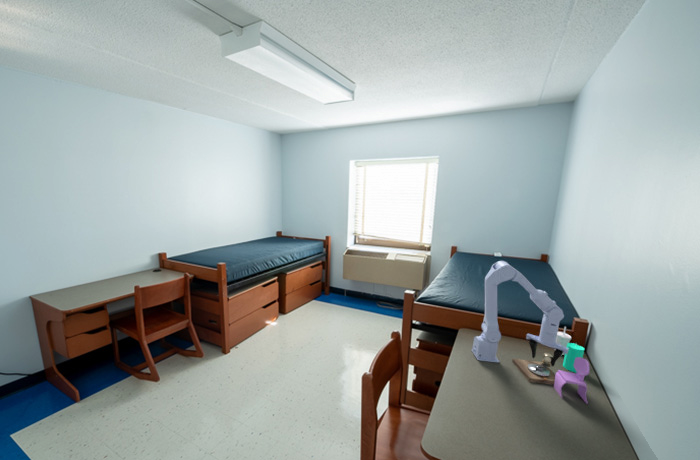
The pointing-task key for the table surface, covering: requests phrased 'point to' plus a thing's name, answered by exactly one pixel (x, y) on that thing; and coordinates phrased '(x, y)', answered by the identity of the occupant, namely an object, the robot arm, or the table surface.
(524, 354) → the table surface
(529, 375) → the stand
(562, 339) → the smoothie
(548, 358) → the crank dial
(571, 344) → the candle
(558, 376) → the chair
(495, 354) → the robot arm
